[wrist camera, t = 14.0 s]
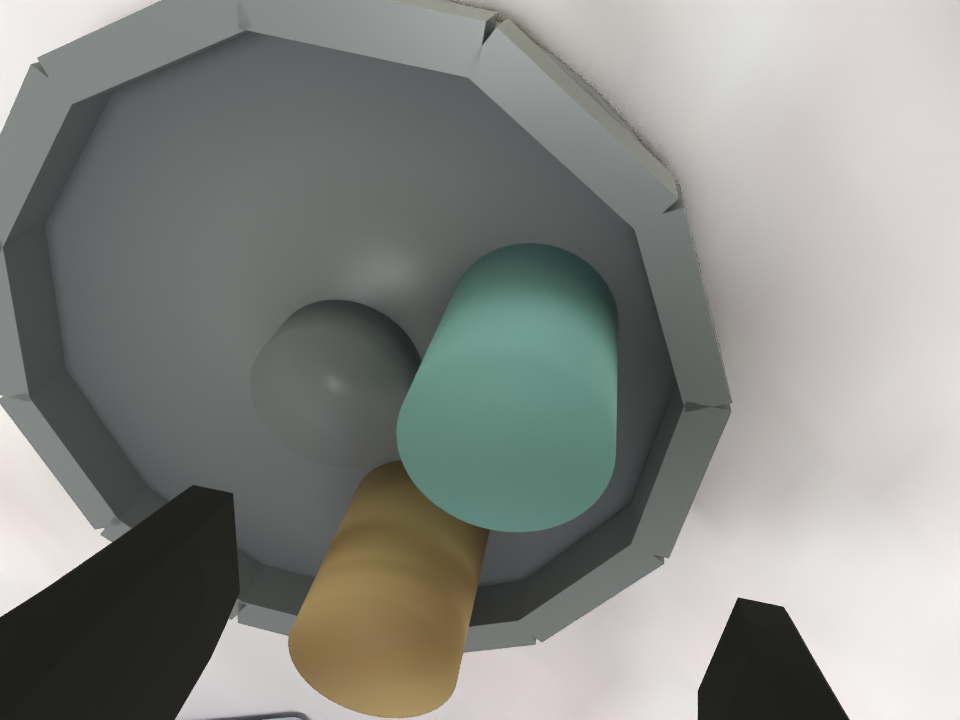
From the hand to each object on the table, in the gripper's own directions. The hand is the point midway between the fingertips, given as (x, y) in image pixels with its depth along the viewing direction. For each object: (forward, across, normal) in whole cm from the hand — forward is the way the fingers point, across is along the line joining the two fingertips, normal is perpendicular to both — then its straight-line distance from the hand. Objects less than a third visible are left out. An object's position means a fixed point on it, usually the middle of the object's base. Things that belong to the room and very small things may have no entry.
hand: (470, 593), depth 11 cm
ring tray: (+9, +4, +2) cm, 11 cm away
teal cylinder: (+8, 0, 0) cm, 8 cm away
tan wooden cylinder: (+8, +2, +7) cm, 11 cm away
